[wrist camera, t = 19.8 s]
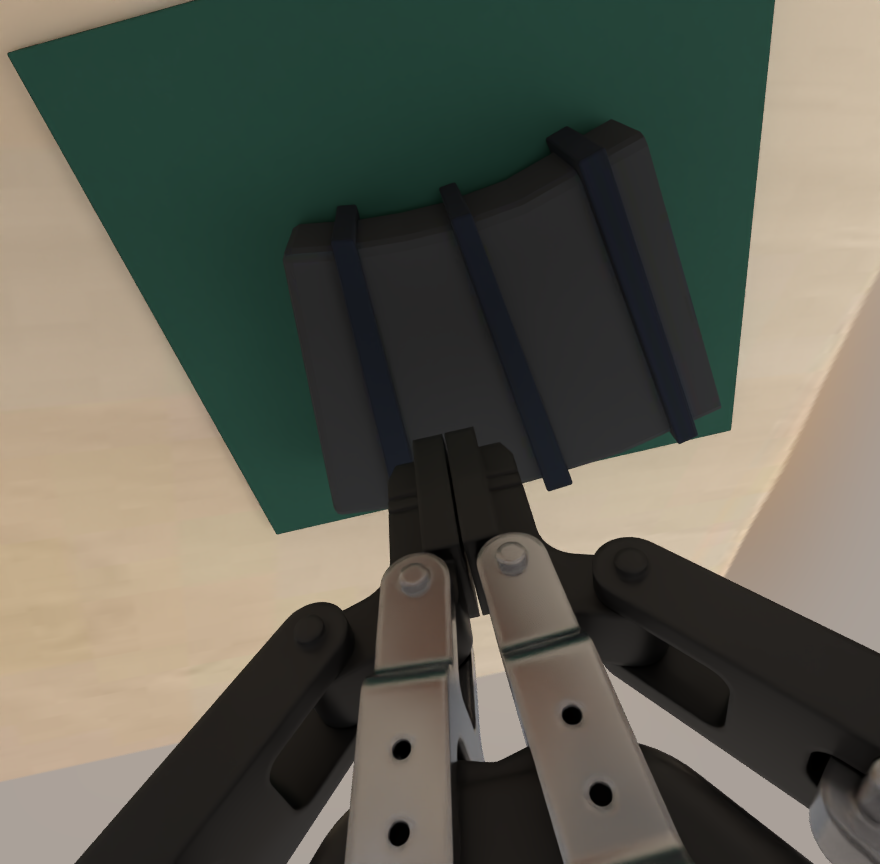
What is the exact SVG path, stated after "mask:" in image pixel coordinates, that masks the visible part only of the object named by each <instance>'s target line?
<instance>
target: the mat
mask: <svg viewBox="0 0 880 864" xmlns="http://www.w3.org/2000/svg"><path fill="white" fill-rule="evenodd" d="M774 4H775V0H194V1H190V2H187V3H183V4H180V5H176V6H173V7H169V8H165V9H162V10H158V11H155V12H151V13H148V14H144V15H140V16H137V17H133V18H130V19H126V20H123V21H119V22H115V23H112V24H108V25H105V26H101V27H98V28H94V29H90V30H87V31H83V32H80V33H76V34H73V35H69V36H65V37H62V38H58V39H55V40H51V41H48V42H44V43H41V44H37V45H33V46H30V47H26V48H23V49H19V50H16V51H12V52H9V53H8V57H9V58H10V60H11V62H12V64H13V66H14V67H15V69H16V71H17V73H18V74H19V76H20V78H21V80H22V82H23V83H24V85H25V87H26V89H27V90H28V92H29V94H30V96H31V98H32V99H33V101H34V103H35V105H36V107H37V108H38V110H39V112H40V114H41V115H42V117H43V119H44V121H45V123H46V124H47V126H48V128H49V130H50V131H51V133H52V135H53V137H54V139H55V140H56V142H57V144H58V146H59V148H60V149H61V151H62V153H63V155H64V156H65V158H66V160H67V162H68V164H69V165H70V167H71V169H72V171H73V172H74V174H75V176H76V178H77V180H78V181H79V183H80V185H81V187H82V188H83V190H84V192H85V194H86V196H87V197H88V199H89V201H90V203H91V205H92V206H93V208H94V210H95V212H96V213H97V215H98V217H99V219H100V221H101V222H102V224H103V226H104V228H105V229H106V231H107V233H108V235H109V237H110V238H111V240H112V242H113V244H114V245H115V247H116V249H117V251H118V253H119V254H120V256H121V258H122V260H123V262H124V263H125V265H126V267H127V269H128V270H129V272H130V274H131V276H132V278H133V279H134V281H135V283H136V285H137V286H138V288H139V290H140V292H141V294H142V295H143V297H144V299H145V301H146V302H147V304H148V306H149V308H150V310H151V311H152V313H153V315H154V317H155V319H156V320H157V322H158V324H159V326H160V327H161V329H162V331H163V333H164V335H165V336H166V338H167V340H168V342H169V343H170V345H171V347H172V349H173V351H174V352H175V354H176V356H177V358H178V360H179V361H180V363H181V365H182V367H183V368H184V370H185V372H186V374H187V376H188V377H189V379H190V381H191V383H192V384H193V386H194V388H195V390H196V392H197V393H198V395H199V397H200V399H201V400H202V402H203V404H204V406H205V408H206V409H207V411H208V413H209V415H210V417H211V418H212V420H213V422H214V424H215V425H216V427H217V429H218V431H219V433H220V434H221V436H222V438H223V440H224V441H225V443H226V445H227V447H228V449H229V450H230V452H231V454H232V456H233V457H234V459H235V461H236V463H237V465H238V466H239V468H240V470H241V472H242V474H243V475H244V477H245V479H246V481H247V482H248V484H249V486H250V488H251V490H252V491H253V493H254V495H255V497H256V498H257V500H258V502H259V504H260V506H261V507H262V509H263V511H264V513H265V515H266V516H267V518H268V520H269V522H270V523H271V525H272V527H273V529H274V531H275V532H276V534H281V533H286V532H290V531H294V530H299V529H303V528H307V527H312V526H316V525H320V524H325V523H329V522H333V521H338V520H342V519H347V518H351V517H355V516H360V515H364V514H368V513H373V512H377V511H381V510H375V511H367V512H360V513H352V514H345V515H341V514H338V513H337V512H336V511H335V509H334V507H333V502H332V497H331V492H330V487H329V482H328V478H327V473H326V468H325V463H324V458H323V453H322V449H321V444H320V439H319V434H318V429H317V424H316V419H315V415H314V410H313V405H312V400H311V395H310V390H309V386H308V381H307V376H306V371H305V366H304V361H303V357H302V352H301V347H300V342H299V337H298V332H297V328H296V323H295V318H294V313H293V308H292V303H291V298H290V294H289V289H288V284H287V279H286V274H285V269H284V265H283V256H284V252H285V249H286V246H287V244H288V241H289V238H290V235H291V233H292V230H293V228H294V227H296V226H298V225H299V224H310V223H323V222H335V217H336V211H337V207H338V206H342V205H356V206H357V209H358V213H359V217H360V219H366V218H373V217H379V216H385V215H391V214H397V213H402V212H406V211H411V210H415V209H419V208H423V207H427V206H431V205H435V204H439V203H443V200H442V197H441V194H440V191H439V188H440V187H442V186H445V185H448V184H451V183H456V184H457V186H458V188H459V190H460V192H461V194H462V196H464V195H466V194H469V193H472V192H474V191H477V190H480V189H483V188H485V187H488V186H491V185H494V184H496V183H499V182H502V181H504V180H506V179H508V178H510V177H512V176H513V175H515V174H517V173H518V172H520V171H522V170H524V169H525V168H527V167H529V166H531V165H532V164H534V163H536V162H537V161H539V160H541V159H543V158H544V157H546V156H548V155H550V154H551V153H550V150H549V147H548V145H547V142H546V138H547V137H549V136H550V135H552V134H554V133H556V132H557V131H559V130H561V129H562V128H564V127H566V126H568V127H570V128H572V129H573V130H575V131H577V132H579V133H580V134H582V135H584V134H586V133H588V132H589V131H591V130H593V129H595V128H596V127H598V126H600V125H602V124H603V123H605V122H607V121H608V120H610V119H613V120H615V121H617V122H620V123H622V124H624V125H626V126H629V127H631V128H633V129H635V130H638V131H640V132H641V133H642V134H643V136H644V137H645V139H646V142H647V144H648V147H649V151H650V154H651V158H652V161H653V165H654V168H655V172H656V175H657V179H658V183H659V186H660V190H661V193H662V197H663V200H664V204H665V207H666V211H667V214H668V218H669V222H670V225H671V229H672V232H673V236H674V239H675V243H676V246H677V250H678V254H679V257H680V261H681V264H682V268H683V271H684V275H685V278H686V282H687V285H688V289H689V293H690V296H691V300H692V303H693V307H694V310H695V314H696V317H697V321H698V324H699V328H700V332H701V335H702V339H703V342H704V346H705V349H706V353H707V356H708V360H709V363H710V367H711V371H712V374H713V378H714V381H715V385H716V388H717V392H718V395H719V399H720V402H721V409H719V410H716V411H714V412H712V413H710V414H707V415H705V416H703V417H701V418H699V419H696V420H694V423H695V426H696V429H697V432H698V436H697V437H694V438H692V439H695V438H699V437H704V436H708V435H712V434H717V433H721V432H726V431H730V430H731V424H732V414H733V405H734V395H735V385H736V375H737V366H738V356H739V346H740V336H741V326H742V317H743V307H744V297H745V287H746V278H747V268H748V258H749V248H750V238H751V229H752V219H753V209H754V199H755V190H756V180H757V170H758V160H759V150H760V141H761V131H762V121H763V111H764V102H765V92H766V82H767V72H768V62H769V53H770V43H771V33H772V23H773V14H774ZM690 440H691V439H690ZM673 443H677V441H676V440H675V439H674V437H673V436H672V434H671V433H670V432H667V433H665V434H663V435H661V436H658V437H656V438H654V439H652V440H649V441H647V442H645V443H643V444H641V445H638V446H636V447H634V448H632V449H629V450H627V451H625V452H623V453H620V454H617V455H614V456H610V457H607V458H604V459H608V458H612V457H617V456H621V455H625V454H630V453H634V452H638V451H643V450H647V449H651V448H656V447H660V446H665V445H669V444H673ZM604 459H601V460H604ZM598 461H599V460H598ZM594 462H595V461H594ZM383 510H386V509H383Z"/></svg>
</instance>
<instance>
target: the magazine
mask: <svg viewBox="0 0 880 864" xmlns="http://www.w3.org/2000/svg"><path fill="white" fill-rule="evenodd" d="M546 142H547V145H548V147H549V150H550V153H551V154H550V155H548V156H546V157H544V158H543V159H541V160H539V161H537V162H536V163H534V164H532V165H531V166H529V167H527V168H525V169H524V170H522V171H520V172H518V173H517V174H515V175H513V176H512V177H510V178H508V179H506V180H504V181H502V182H499V183H496V184H494V185H491V186H488V187H485V188H483V189H480V190H477V191H474V192H472V193H469V194H466V195H464V196H462V194H461V192H460V190H459V188H458V186H457V184H456V183H451V184H448V185H445V186H442V187H440V188H439V191H440V194H441V197H442V200H443V203H439V204H435V205H431V206H427V207H423V208H419V209H415V210H411V211H406V212H402V213H397V214H391V215H385V216H379V217H373V218H366V219H360V217H359V213H358V209H357V206H356V205H342V206H338V207H337V211H336V217H335V222H323V223H310V224H299V225H298V226H296V227H294V228H293V230H292V233H291V235H290V238H289V241H288V244H287V246H286V249H285V252H284V256H283V265H284V269H285V274H286V279H287V284H288V289H289V294H290V298H291V303H292V308H293V313H294V318H295V323H296V328H297V332H298V337H299V342H300V347H301V352H302V357H303V361H304V366H305V371H306V376H307V381H308V386H309V390H310V395H311V400H312V405H313V410H314V415H315V419H316V424H317V429H318V434H319V439H320V444H321V449H322V453H323V458H324V463H325V468H326V473H327V478H328V482H329V487H330V492H331V497H332V502H333V507H334V509H335V511H336V512H337V513H338V514H341V515H345V514H352V513H360V512H367V511H375V510H383V509H388V501H389V499H388V480H389V478H390V476H391V474H392V472H393V470H394V468H395V466H397V465H401V464H406V463H410V462H414V454H413V440H417V439H421V438H425V437H430V436H434V435H438V434H442V435H443V438H444V442H445V446H446V441H445V435H444V433H446V432H451V431H455V430H460V429H464V428H468V427H473V426H474V430H475V434H476V439H477V443H478V447H480V446H484V445H489V444H493V443H497V442H500V443H502V444H503V445H504V446H505V447H506V448H507V449H508V450H509V451H511V452H512V453H513V456H514V459H515V462H516V465H517V468H518V472H519V474H520V478H521V481H522V483H525V482H529V481H533V480H536V479H540V478H543V480H544V483H545V486H546V488H547V490H548V491H552V490H555V489H558V488H561V487H565V486H568V485H571V484H572V480H571V477H570V474H569V471H568V469H572V468H575V467H578V466H581V465H585V464H588V463H591V462H594V461H598V460H601V459H604V458H607V457H610V456H614V455H617V454H620V453H623V452H625V451H627V450H629V449H632V448H634V447H636V446H638V445H641V444H643V443H645V442H647V441H649V440H652V439H654V438H656V437H658V436H661V435H663V434H665V433H667V432H670V433H671V434H672V436H673V437H674V439H675V440H676V441H677V443H678V444H681V443H683V442H685V441H688V440H690V439H692V438H694V437H697V436H698V432H697V429H696V426H695V423H694V420H696V419H699V418H701V417H703V416H705V415H707V414H710V413H712V412H714V411H716V410H719V409H721V402H720V399H719V395H718V392H717V388H716V385H715V381H714V378H713V374H712V371H711V367H710V363H709V360H708V356H707V353H706V349H705V346H704V342H703V339H702V335H701V332H700V328H699V324H698V321H697V317H696V314H695V310H694V307H693V303H692V300H691V296H690V293H689V289H688V285H687V282H686V278H685V275H684V271H683V268H682V264H681V261H680V257H679V254H678V250H677V246H676V243H675V239H674V236H673V232H672V229H671V225H670V222H669V218H668V214H667V211H666V207H665V204H664V200H663V197H662V193H661V190H660V186H659V183H658V179H657V175H656V172H655V168H654V165H653V161H652V158H651V154H650V151H649V147H648V144H647V142H646V139H645V137H644V136H643V134H642V133H641V132H640V131H638V130H635V129H633V128H631V127H629V126H626V125H624V124H622V123H620V122H617V121H615V120H613V119H610V120H608V121H607V122H605V123H603V124H602V125H600V126H598V127H596V128H595V129H593V130H591V131H589V132H588V133H586V134H584V135H582V134H580V133H579V132H577V131H575V130H573V129H572V128H570V127H568V126H566V127H564V128H562V129H561V130H559V131H557V132H556V133H554V134H552V135H550V136H549V137H547V138H546ZM446 449H447V447H446Z"/></svg>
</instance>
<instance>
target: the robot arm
mask: <svg viewBox="0 0 880 864" xmlns="http://www.w3.org/2000/svg"><path fill="white" fill-rule="evenodd" d="M444 435H445V441H446V446H445V442H444V438H443V435H442V434H438V435H434V436H430V437H425V438H421V439H417V440H413V454H414V462H410V463H406V464H401V465H397V466H395V468H394V470H393V472H392V474H391V476H390V478H389V480H388V499H389V501H388V509H389V541H390V567H389V568H388V569H387V570H386V572H385V573H384V575H383V578H382V580H381V586H380V587H379V588H378V589H377V590H376V591H375V592H374V593H373V594H372V595H370V596H369V597H367V598H366V599H364V600H362V601H361V602H359V603H357V604H355V605H353V606H351V607H349V608H347V609H345V610H343V611H342V610H341V609H340V608H339V607H338V606H336V605H334V604H331V603H327V602H317V603H312V604H309V605H306V606H304V607H302V608H300V609H299V610H297V611H295V612H294V613H293V614H292V615H290V617H289V618H288V619H287V620H286V621H285V622H284V623H283V624H282V625H281V626H280V628H279V629H278V630H277V631H276V632H275V633H274V634H273V636H272V637H271V638H270V639H269V640H268V641H267V643H266V644H265V645H264V646H263V647H262V648H261V649H260V651H259V652H258V653H257V654H256V655H255V656H254V658H253V659H252V660H251V661H250V662H249V663H248V664H247V666H246V667H245V668H244V669H243V670H242V671H241V672H240V674H239V675H238V676H237V677H236V678H235V679H234V681H233V682H232V683H231V684H230V685H229V686H228V687H227V689H226V690H225V691H224V692H223V693H222V694H221V696H220V697H219V698H218V699H217V700H216V701H215V702H214V704H213V705H212V706H211V707H210V708H209V709H208V711H207V712H206V713H205V714H204V715H203V716H202V717H201V719H200V720H199V721H198V722H197V723H196V724H195V725H194V727H193V728H192V729H191V730H190V731H189V732H188V734H187V735H186V736H185V737H184V738H183V739H182V740H181V742H180V743H179V744H178V745H177V746H176V748H175V749H174V750H173V751H172V752H171V753H170V754H169V755H168V757H167V758H166V759H165V760H164V761H163V762H162V764H161V765H160V766H159V767H158V768H157V769H156V770H155V772H154V773H153V774H152V775H151V776H150V777H149V779H148V780H147V781H146V782H145V783H144V784H143V785H142V787H141V788H140V789H139V790H138V791H137V792H136V794H135V795H134V796H133V797H132V798H131V799H130V800H129V802H128V803H127V804H126V805H125V806H124V807H123V808H122V810H121V811H120V812H119V813H118V814H117V815H116V817H115V818H114V819H113V820H112V821H111V822H110V823H109V825H108V826H107V827H106V828H105V829H104V830H103V831H102V833H101V834H100V835H99V836H98V837H97V839H96V840H95V841H94V842H93V843H92V844H91V845H90V846H89V848H88V849H87V850H86V851H85V852H84V853H83V855H82V856H81V857H80V858H79V859H78V860H77V862H76V863H75V864H287V862H288V860H289V859H290V858H291V856H292V855H293V853H294V852H295V850H296V848H297V847H298V845H299V844H300V842H301V841H302V839H303V838H304V836H305V835H306V833H307V832H308V830H309V829H310V827H311V826H312V824H313V823H314V821H315V820H316V818H317V816H318V815H319V813H320V812H321V810H322V809H323V807H324V806H325V804H326V803H327V801H328V800H329V798H330V797H331V795H332V794H333V792H334V791H335V789H336V788H337V786H338V784H339V783H340V782H341V780H342V778H343V777H344V775H345V774H346V772H347V771H348V769H349V768H350V766H351V765H352V763H353V762H354V769H353V779H352V789H351V801H350V809H349V810H348V811H347V812H346V813H345V814H344V815H343V816H342V817H341V818H340V819H339V820H338V821H337V823H336V824H335V825H334V826H333V828H332V829H331V830H330V832H329V833H328V835H327V836H326V837H325V839H324V840H323V842H322V843H321V845H320V847H319V848H318V850H317V852H316V853H315V855H314V857H313V858H312V860H311V862H310V864H813V863H812V862H811V861H809V860H808V859H807V858H805V857H804V856H803V855H802V854H800V853H799V852H798V851H797V850H795V849H794V848H793V847H791V846H790V845H789V844H787V843H786V842H785V841H784V840H782V839H781V838H780V837H778V836H777V835H776V834H775V833H774V832H772V831H771V830H770V829H768V828H767V827H766V826H764V825H763V824H762V823H760V822H759V821H758V820H757V819H756V818H754V817H753V816H752V815H750V814H749V813H748V812H747V811H745V810H744V809H743V808H741V807H740V806H739V805H738V804H736V803H735V802H734V801H733V800H731V799H730V798H729V797H727V796H726V795H725V794H723V793H722V792H721V791H720V790H718V789H717V788H716V787H715V786H713V785H712V784H711V783H710V782H708V781H707V780H706V779H704V778H703V777H702V776H701V775H699V774H698V773H697V772H695V771H694V770H693V769H691V768H690V767H689V766H687V765H686V764H684V763H682V762H681V761H679V760H677V759H676V758H674V757H672V756H670V755H668V754H666V753H664V752H662V751H660V750H658V749H655V748H652V747H649V746H646V745H643V744H639V743H637V740H636V738H635V735H634V733H633V731H632V729H631V726H630V724H629V722H628V720H627V717H626V715H625V713H624V711H623V708H622V706H621V704H620V702H619V699H618V697H617V695H616V693H615V690H614V688H613V686H612V684H611V681H610V679H609V677H608V674H607V672H606V670H605V668H604V665H605V667H606V668H607V669H608V670H609V671H610V672H611V673H612V674H613V675H615V676H616V677H618V678H619V679H621V680H622V681H623V682H625V683H626V684H628V685H629V686H631V687H632V688H634V689H635V690H637V691H638V692H639V693H641V694H642V695H644V696H645V697H647V698H648V699H650V700H651V701H653V702H654V703H656V704H657V705H659V706H660V707H661V708H663V709H664V710H666V711H667V712H669V713H670V714H672V715H673V716H675V717H676V718H677V719H679V720H680V721H682V722H683V723H685V724H686V725H688V726H689V727H690V728H692V729H693V730H695V731H697V732H698V733H699V734H701V735H702V736H704V737H705V738H707V739H708V740H709V741H711V742H712V743H714V744H715V745H717V746H718V747H720V748H721V749H723V750H724V751H725V752H727V753H728V754H730V755H731V756H733V757H734V758H736V759H737V760H739V761H740V762H741V763H743V764H744V765H746V766H747V767H749V768H750V769H752V770H753V771H755V772H756V773H758V774H759V775H760V776H762V777H763V778H765V779H766V780H768V781H769V782H771V783H772V784H774V785H775V786H777V787H778V788H779V789H781V790H782V791H784V792H785V793H787V794H788V795H790V796H791V797H793V798H794V799H796V800H797V801H798V802H800V803H801V804H803V805H804V806H806V807H807V808H809V809H810V810H809V820H810V821H809V822H810V826H811V830H812V833H813V836H814V838H815V840H816V842H817V844H818V846H819V848H820V849H821V851H822V852H823V854H824V855H825V856H826V858H827V859H828V860H829V861H830V862H831V863H832V864H880V653H877V652H876V651H874V650H871V649H869V648H867V647H865V646H863V645H861V644H859V643H857V642H855V641H853V640H851V639H849V638H847V637H845V636H843V635H841V634H839V633H837V632H835V631H833V630H830V629H828V628H826V627H824V626H822V625H820V624H818V623H816V622H814V621H812V620H810V619H808V618H806V617H804V616H802V615H800V614H798V613H795V612H793V611H792V610H789V609H787V608H785V607H783V606H781V605H779V604H777V603H775V602H773V601H771V600H769V599H767V598H765V597H763V596H761V595H759V594H757V593H755V592H752V591H750V590H748V589H746V588H744V587H742V586H740V585H738V584H736V583H734V582H732V581H730V580H728V579H726V578H724V577H722V576H720V575H718V574H716V573H714V572H712V571H710V570H707V569H705V568H703V567H701V566H699V565H697V564H695V563H693V562H691V561H689V560H687V559H685V558H683V557H681V556H679V555H677V554H675V553H673V552H671V551H669V550H666V549H664V548H662V547H660V546H658V545H656V544H654V543H652V542H650V541H647V540H644V539H641V538H635V537H623V538H617V539H614V540H611V541H609V542H607V543H605V544H604V545H602V546H601V547H600V548H599V549H598V550H597V551H596V553H595V555H586V554H572V553H566V552H562V551H560V550H557V549H555V548H553V547H551V546H550V545H548V544H547V543H546V542H545V541H544V540H543V539H542V538H541V536H540V535H539V533H538V531H537V528H536V525H535V522H534V519H533V515H532V512H531V509H530V506H529V503H528V500H527V497H526V493H525V490H524V487H523V485H522V481H521V478H520V474H519V472H518V468H517V465H516V462H515V459H514V456H513V453H512V452H511V451H509V450H508V449H507V448H506V447H505V446H504V445H503V444H502V443H500V442H497V443H493V444H489V445H484V446H480V447H478V443H477V439H476V434H475V430H474V426H473V427H468V428H464V429H460V430H455V431H451V432H446V433H444ZM446 447H447V449H446ZM474 585H475V586H474ZM475 588H476V591H475ZM476 592H477V596H478V599H479V603H480V606H481V610H482V614H483V615H487V614H490V617H491V621H492V624H493V628H494V632H495V636H496V640H497V643H498V647H499V651H500V654H501V658H502V661H503V665H504V668H505V672H506V675H507V678H508V682H509V686H510V689H511V692H512V696H513V700H514V703H515V707H516V710H517V714H518V717H519V721H520V724H521V727H522V731H523V735H524V738H525V742H526V745H527V747H526V748H524V749H522V750H520V751H518V752H516V753H514V754H512V755H510V756H509V757H506V758H504V759H502V760H500V761H498V762H485V761H484V756H483V751H482V745H481V737H480V725H479V711H478V699H477V684H476V671H475V657H474V650H473V646H472V644H473V637H472V630H471V624H470V618H474V617H479V616H480V614H479V608H478V603H477V597H476ZM603 664H604V665H603Z"/></svg>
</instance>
